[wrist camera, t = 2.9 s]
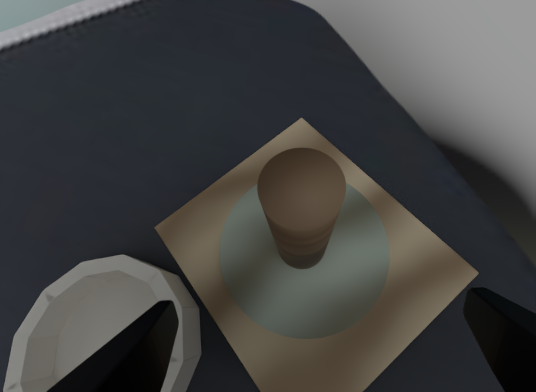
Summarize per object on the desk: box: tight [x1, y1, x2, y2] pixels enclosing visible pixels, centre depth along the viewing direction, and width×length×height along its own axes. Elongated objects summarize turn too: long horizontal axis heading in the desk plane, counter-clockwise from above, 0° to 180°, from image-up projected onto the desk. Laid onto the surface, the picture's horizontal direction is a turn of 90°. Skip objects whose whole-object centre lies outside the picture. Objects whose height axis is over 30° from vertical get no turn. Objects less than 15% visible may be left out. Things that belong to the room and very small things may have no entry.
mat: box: [154, 118, 479, 392], centre depth 21 cm, size 18×16×1 cm
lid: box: [219, 148, 390, 339], centre depth 16 cm, size 12×12×11 cm
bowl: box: [3, 255, 201, 392], centre depth 18 cm, size 11×11×3 cm
